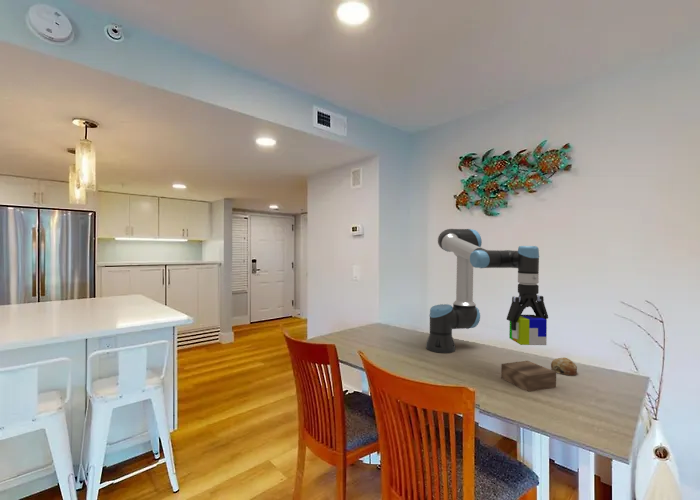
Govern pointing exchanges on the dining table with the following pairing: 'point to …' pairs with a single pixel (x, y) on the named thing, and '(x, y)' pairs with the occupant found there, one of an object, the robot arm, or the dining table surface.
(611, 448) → the dining table surface
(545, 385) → the walnut plinth
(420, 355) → the dining table surface
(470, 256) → the robot arm
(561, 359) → the bread roll
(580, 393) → the dining table surface
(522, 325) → the puzzle toy
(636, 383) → the dining table surface
